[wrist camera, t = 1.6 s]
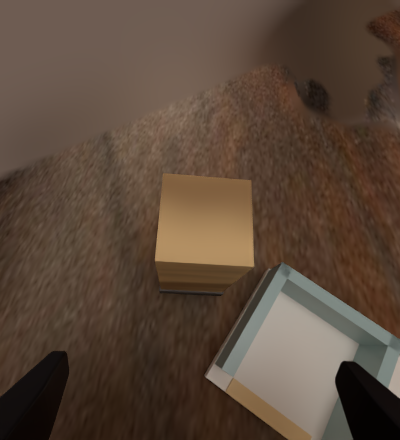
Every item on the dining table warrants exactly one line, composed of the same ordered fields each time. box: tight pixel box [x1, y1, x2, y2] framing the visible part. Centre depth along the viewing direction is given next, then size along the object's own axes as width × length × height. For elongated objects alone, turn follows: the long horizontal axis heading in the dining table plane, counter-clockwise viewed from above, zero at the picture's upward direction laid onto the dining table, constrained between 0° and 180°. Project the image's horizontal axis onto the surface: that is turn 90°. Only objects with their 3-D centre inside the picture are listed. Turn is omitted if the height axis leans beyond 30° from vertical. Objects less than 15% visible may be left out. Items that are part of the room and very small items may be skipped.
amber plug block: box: [155, 173, 254, 296], centre depth 18 cm, size 5×5×10 cm
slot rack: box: [204, 262, 400, 440], centre depth 18 cm, size 9×24×4 cm, turn 56°
